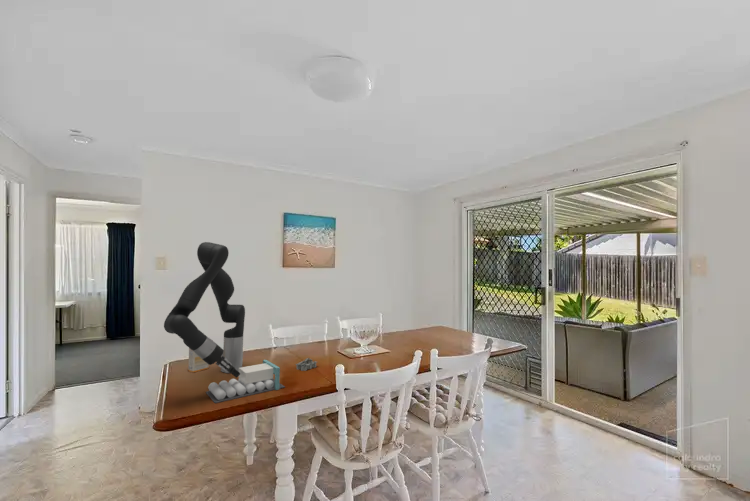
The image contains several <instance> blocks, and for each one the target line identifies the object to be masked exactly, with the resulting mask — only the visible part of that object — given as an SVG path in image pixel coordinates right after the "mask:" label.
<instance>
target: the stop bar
mask: <svg viewBox="0 0 750 501" xmlns="http://www.w3.org/2000/svg"><path fill="white" fill-rule="evenodd" d="M264 363H266V364H268V365H269V366H271V367H273V376H274V380H275V390H274V391H278V390H280V389H279V383H280V380H281V379H280V374H281V371H280V370H281V368H280V367H279V366H278V365H277V364H275V363H273V362H271V361H270V360H267V359H263V360H262V364H264Z"/></svg>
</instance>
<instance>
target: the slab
mask: <svg viewBox="0 0 750 501" xmlns="http://www.w3.org/2000/svg"><path fill="white" fill-rule="evenodd" d="M239 373H240V375H239V376H238V380H239V379H240V380H241V381H243V382H244V383H245V384H248V383H253V382H258V381H263V380H268V379H274V374H273V367H271V366H269V365H268V364H266V363H264V364H263V363H259V364H253V365H248V366H242V367H241V368H239Z"/></svg>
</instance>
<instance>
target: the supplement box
mask: <svg viewBox="0 0 750 501" xmlns="http://www.w3.org/2000/svg"><path fill="white" fill-rule="evenodd" d="M209 367H210V365H209V364H207V363H206V362H205V361H204V360H202V359H201V358H200V357H199V356H198V355H196V354H195V352H194V351H193V350H191V349H190V348H189V347H188V370H187V371H188V372H190V373H197V372H201V371H205V370H209Z"/></svg>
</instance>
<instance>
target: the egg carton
mask: <svg viewBox="0 0 750 501" xmlns="http://www.w3.org/2000/svg"><path fill="white" fill-rule="evenodd" d="M317 363H318V361H316V360H314V361H313V359H312V358H310V357H307V358H305V359H304V360H302V361H300V362H297V363H295V365H296V368H295V369H296V370H300V371H302V372H304V371H305V372H306V371H307V370H312V369H313V368H314V369H316V368H317Z"/></svg>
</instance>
